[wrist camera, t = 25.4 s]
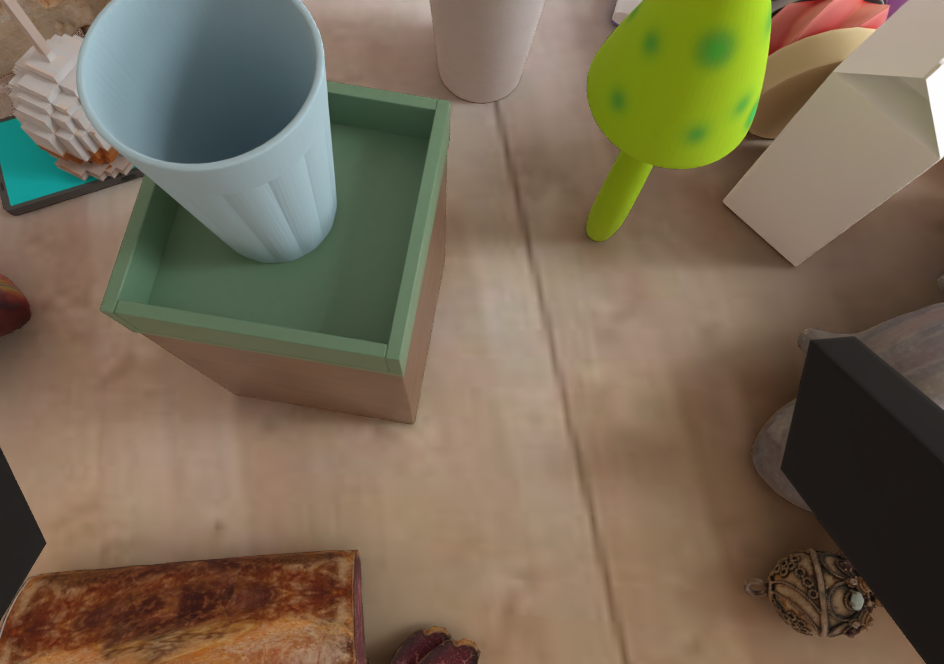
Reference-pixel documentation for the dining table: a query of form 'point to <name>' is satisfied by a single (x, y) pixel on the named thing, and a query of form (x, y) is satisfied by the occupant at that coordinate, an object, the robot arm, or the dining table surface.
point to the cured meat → (208, 615)
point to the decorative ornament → (58, 104)
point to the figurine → (44, 25)
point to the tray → (313, 275)
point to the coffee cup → (483, 44)
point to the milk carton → (852, 138)
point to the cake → (808, 52)
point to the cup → (220, 114)
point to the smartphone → (39, 173)
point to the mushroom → (674, 92)
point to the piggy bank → (895, 341)
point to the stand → (323, 380)
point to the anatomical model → (12, 307)
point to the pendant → (818, 594)
